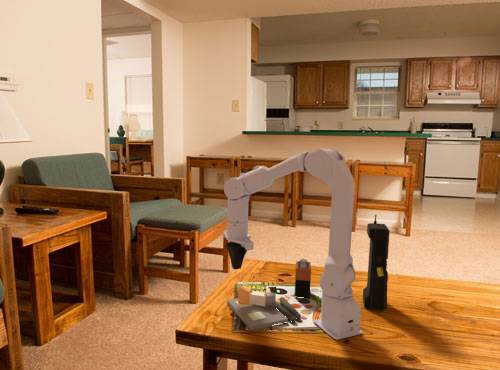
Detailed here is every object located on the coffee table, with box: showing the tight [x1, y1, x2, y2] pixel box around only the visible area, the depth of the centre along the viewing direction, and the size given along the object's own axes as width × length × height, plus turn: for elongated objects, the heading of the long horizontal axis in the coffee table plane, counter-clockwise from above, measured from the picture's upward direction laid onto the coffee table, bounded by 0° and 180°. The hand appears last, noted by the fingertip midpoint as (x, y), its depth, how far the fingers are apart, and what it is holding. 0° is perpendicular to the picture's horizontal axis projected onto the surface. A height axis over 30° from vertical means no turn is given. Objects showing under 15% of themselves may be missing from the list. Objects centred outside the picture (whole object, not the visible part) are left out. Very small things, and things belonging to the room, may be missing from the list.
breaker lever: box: [237, 285, 277, 308], centre depth 106 cm, size 3×10×4 cm, turn 71°
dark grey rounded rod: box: [279, 297, 302, 320], centre depth 105 cm, size 12×2×2 cm, turn 19°
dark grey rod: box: [275, 300, 297, 323], centre depth 105 cm, size 16×2×2 cm, turn 25°
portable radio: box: [362, 214, 391, 311], centre depth 108 cm, size 8×6×25 cm
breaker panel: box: [226, 297, 289, 332], centre depth 104 cm, size 16×11×2 cm
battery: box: [294, 258, 312, 299], centre depth 116 cm, size 4×7×10 cm, turn 173°
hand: (236, 268), depth 110 cm, fingers closed
